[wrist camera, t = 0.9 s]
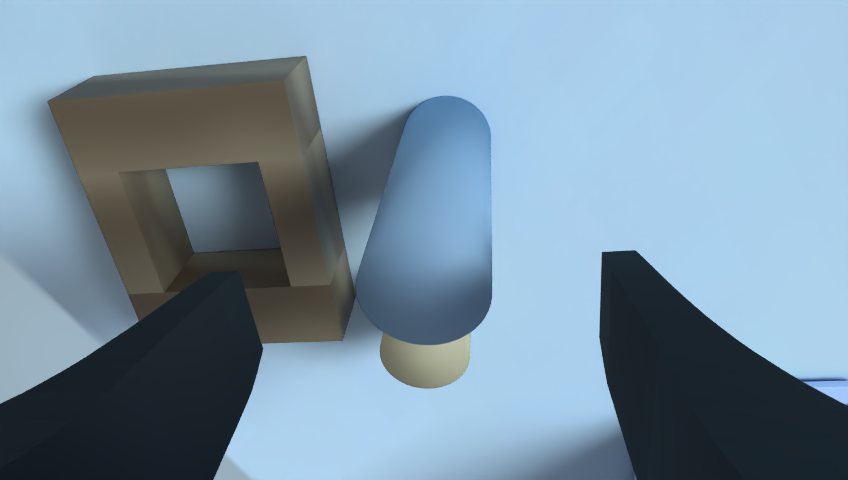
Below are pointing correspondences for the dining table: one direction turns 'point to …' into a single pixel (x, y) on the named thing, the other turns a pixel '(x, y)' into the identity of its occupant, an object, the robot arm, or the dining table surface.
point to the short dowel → (425, 361)
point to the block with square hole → (202, 146)
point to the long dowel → (433, 229)
